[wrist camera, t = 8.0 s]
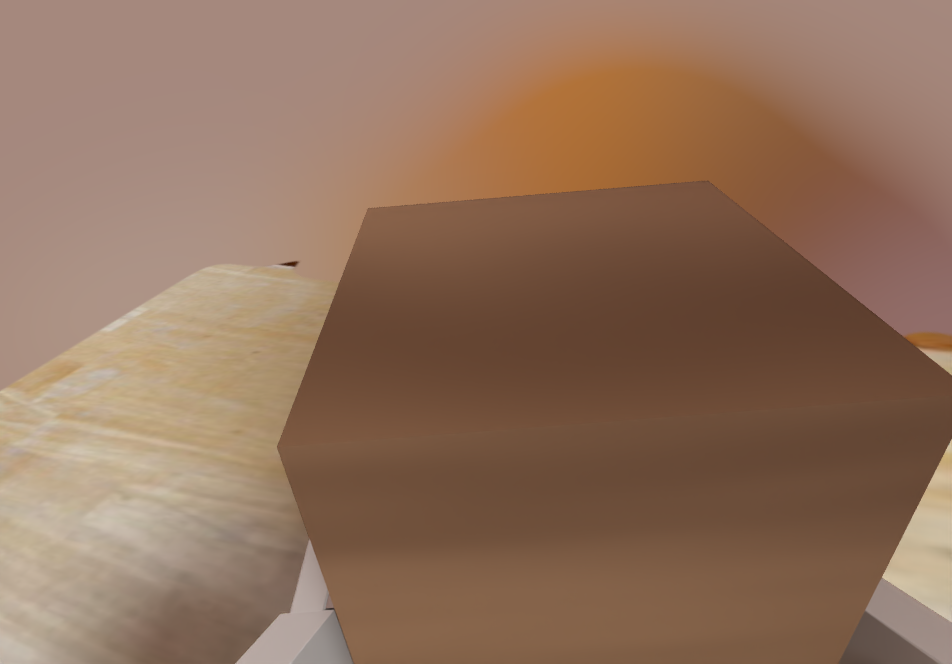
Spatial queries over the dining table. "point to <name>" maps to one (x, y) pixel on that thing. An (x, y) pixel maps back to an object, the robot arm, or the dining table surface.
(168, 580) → the dining table surface
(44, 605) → the dining table surface
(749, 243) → the walnut block
